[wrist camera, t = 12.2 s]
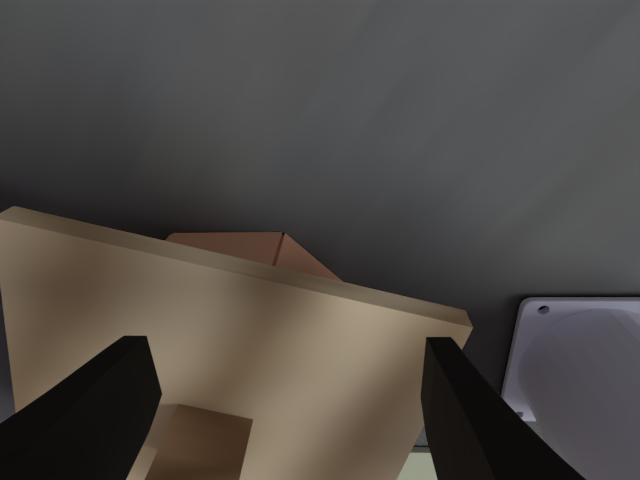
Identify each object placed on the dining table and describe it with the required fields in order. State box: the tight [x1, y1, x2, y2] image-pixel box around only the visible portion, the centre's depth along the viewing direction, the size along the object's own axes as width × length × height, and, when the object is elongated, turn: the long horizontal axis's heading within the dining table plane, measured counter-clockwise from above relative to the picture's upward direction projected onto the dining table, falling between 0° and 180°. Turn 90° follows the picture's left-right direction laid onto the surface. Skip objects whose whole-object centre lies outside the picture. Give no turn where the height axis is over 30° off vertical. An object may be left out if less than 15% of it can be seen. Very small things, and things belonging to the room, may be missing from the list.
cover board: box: [0, 206, 473, 480], centre depth 16 cm, size 16×16×6 cm
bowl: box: [165, 232, 343, 282], centre depth 20 cm, size 13×13×5 cm
